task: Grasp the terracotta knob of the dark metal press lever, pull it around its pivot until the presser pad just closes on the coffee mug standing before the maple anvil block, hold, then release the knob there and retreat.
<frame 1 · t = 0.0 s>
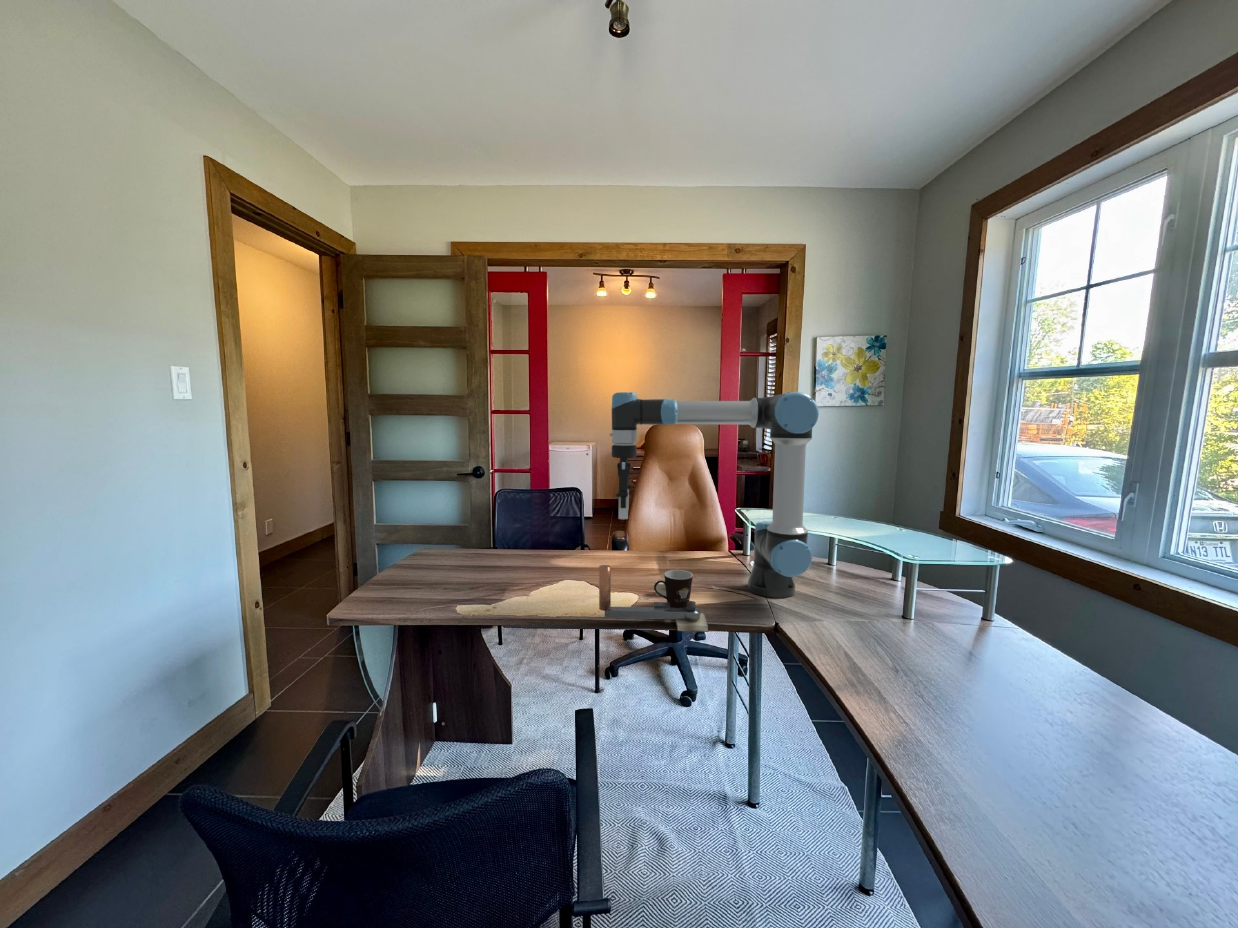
hand: (623, 514, 142), 28 cm above the table, fingers open, 13 cm apart
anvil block: (670, 594, 152), on the table
lever: (649, 591, 130), point 9 cm above the table, hinge at 0.0°
pivot pedestal: (691, 624, 130), on the table
coffee mug: (673, 606, 142), on the table
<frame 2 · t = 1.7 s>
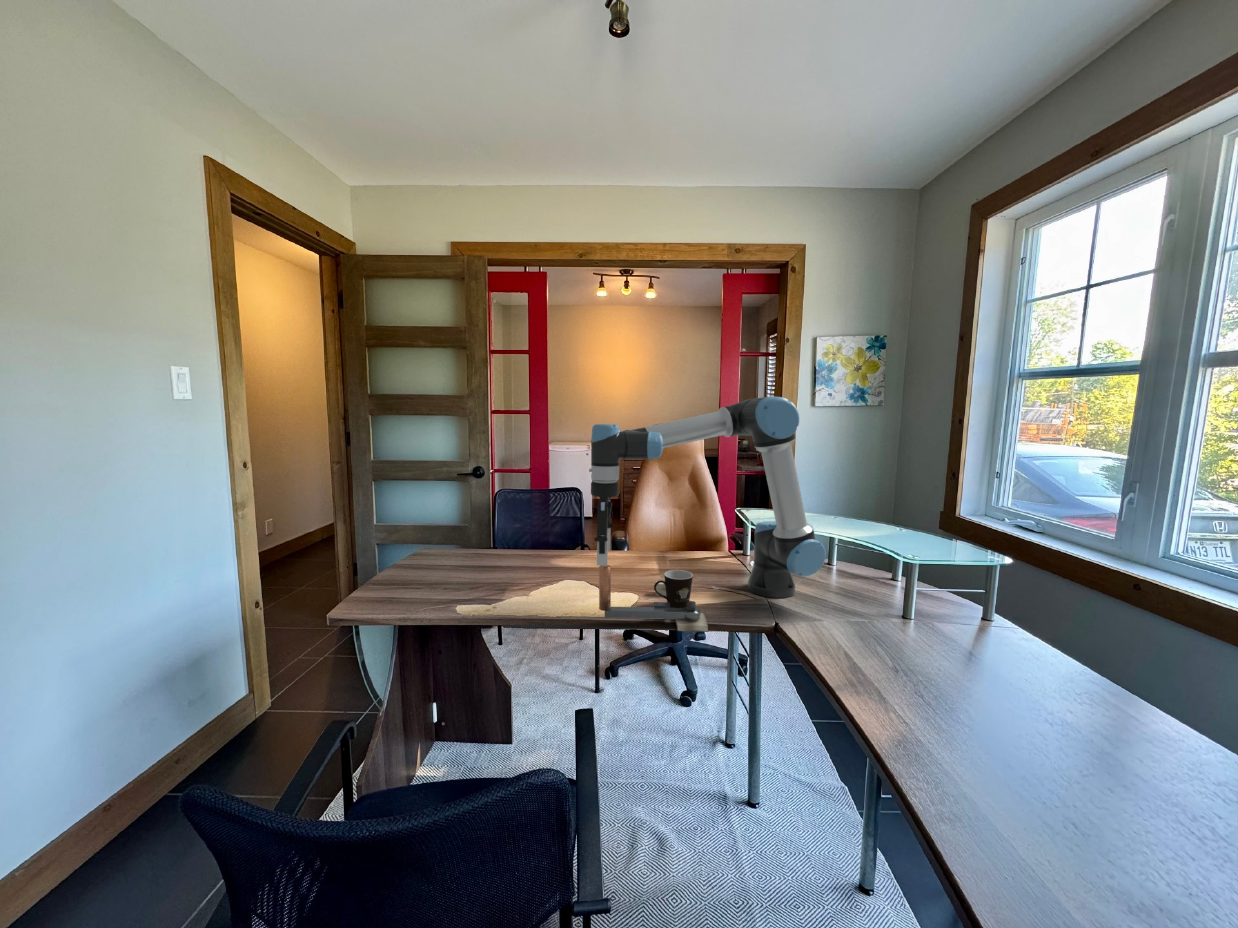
hand: (603, 557, 128), 19 cm above the table, fingers open, 13 cm apart
nothing on the table moved.
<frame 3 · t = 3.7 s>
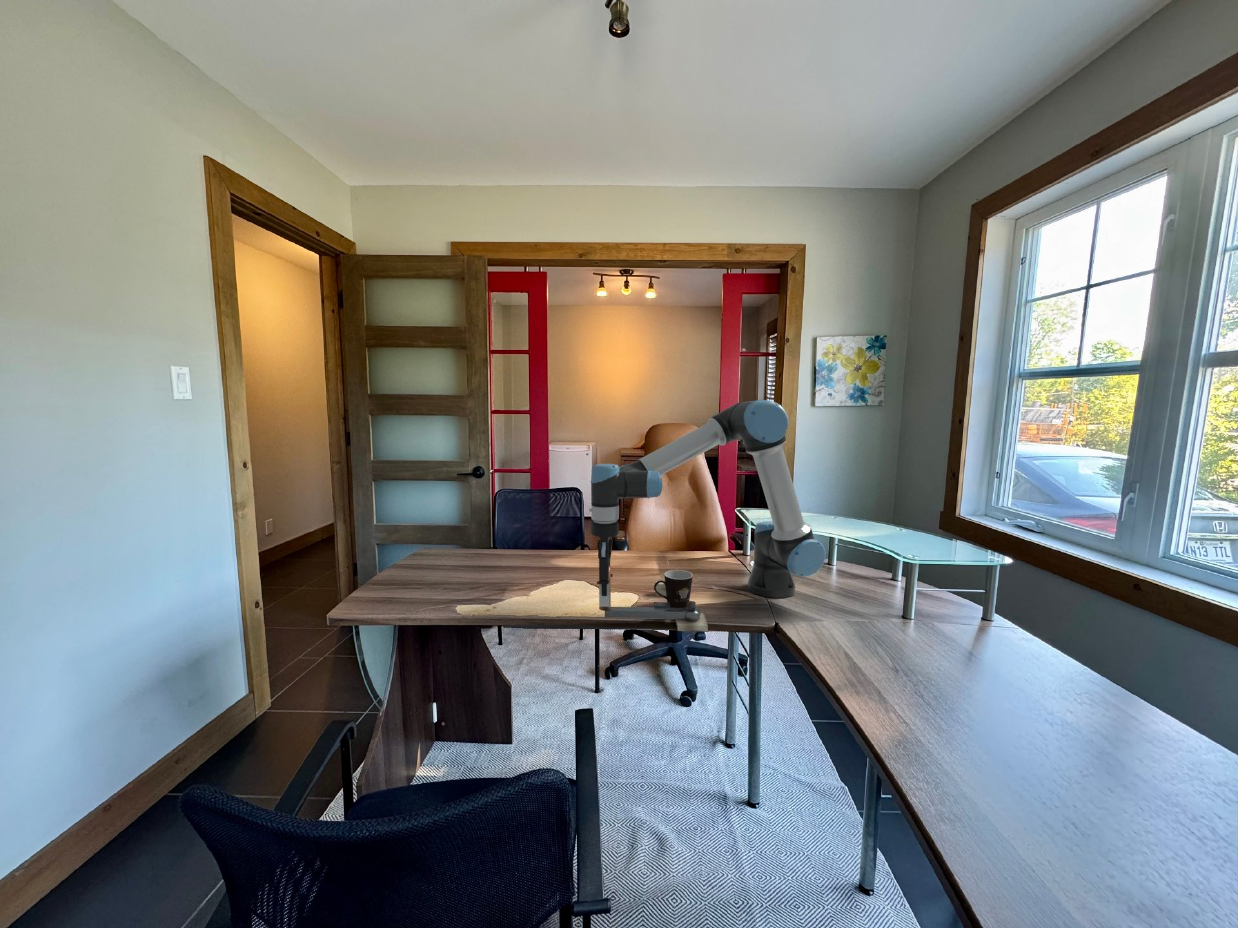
hand: (604, 603, 130), 6 cm above the table, fingers closed on lever, 3 cm apart
lever: (649, 591, 130), point 9 cm above the table, hinge at 0.0°, touching gripper
everything else where it was.
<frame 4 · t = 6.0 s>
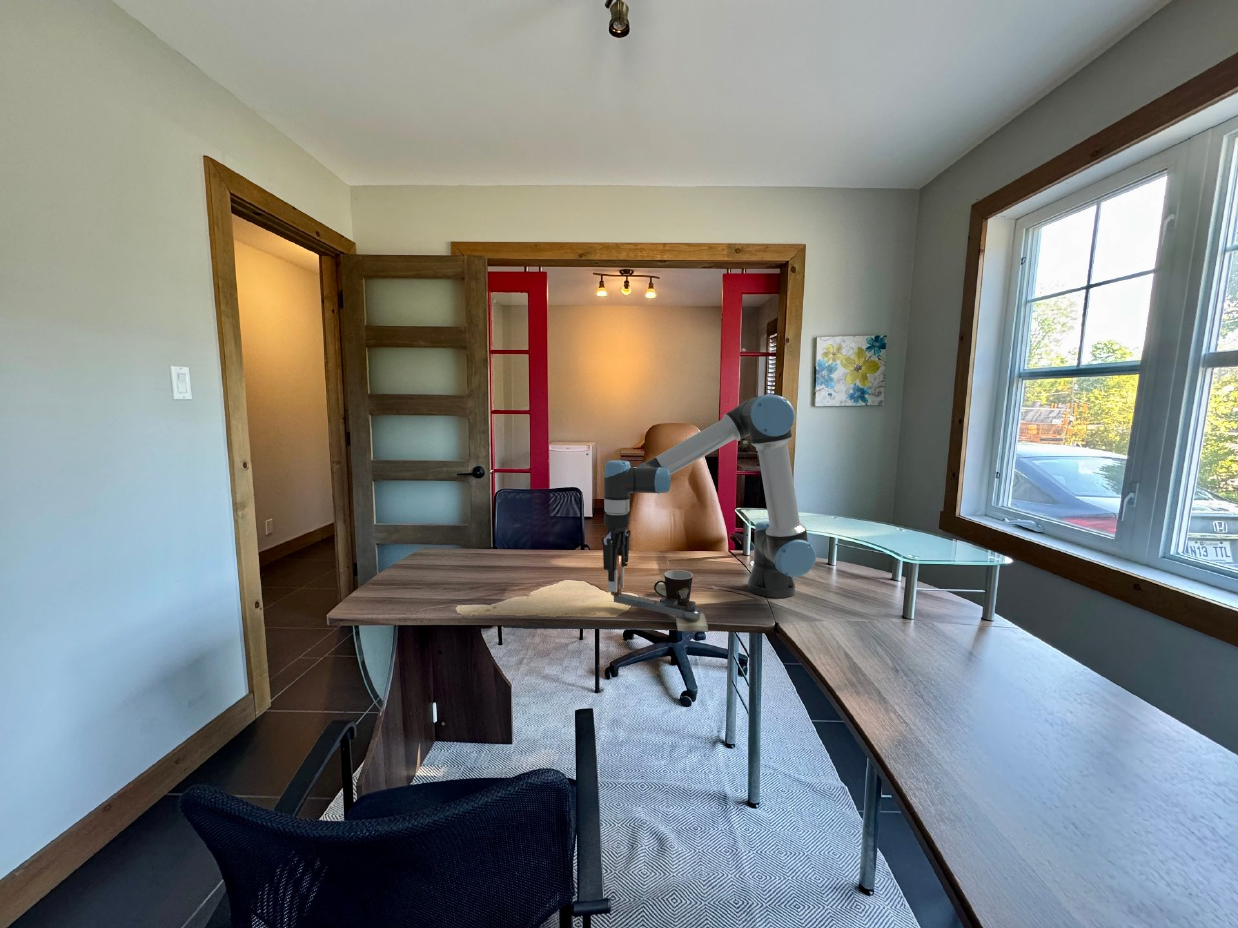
hand: (616, 588, 141), 6 cm above the table, fingers closed on lever, 3 cm apart
lever: (654, 585, 135), point 9 cm above the table, hinge at 27.2°, touching gripper
everything else where it was.
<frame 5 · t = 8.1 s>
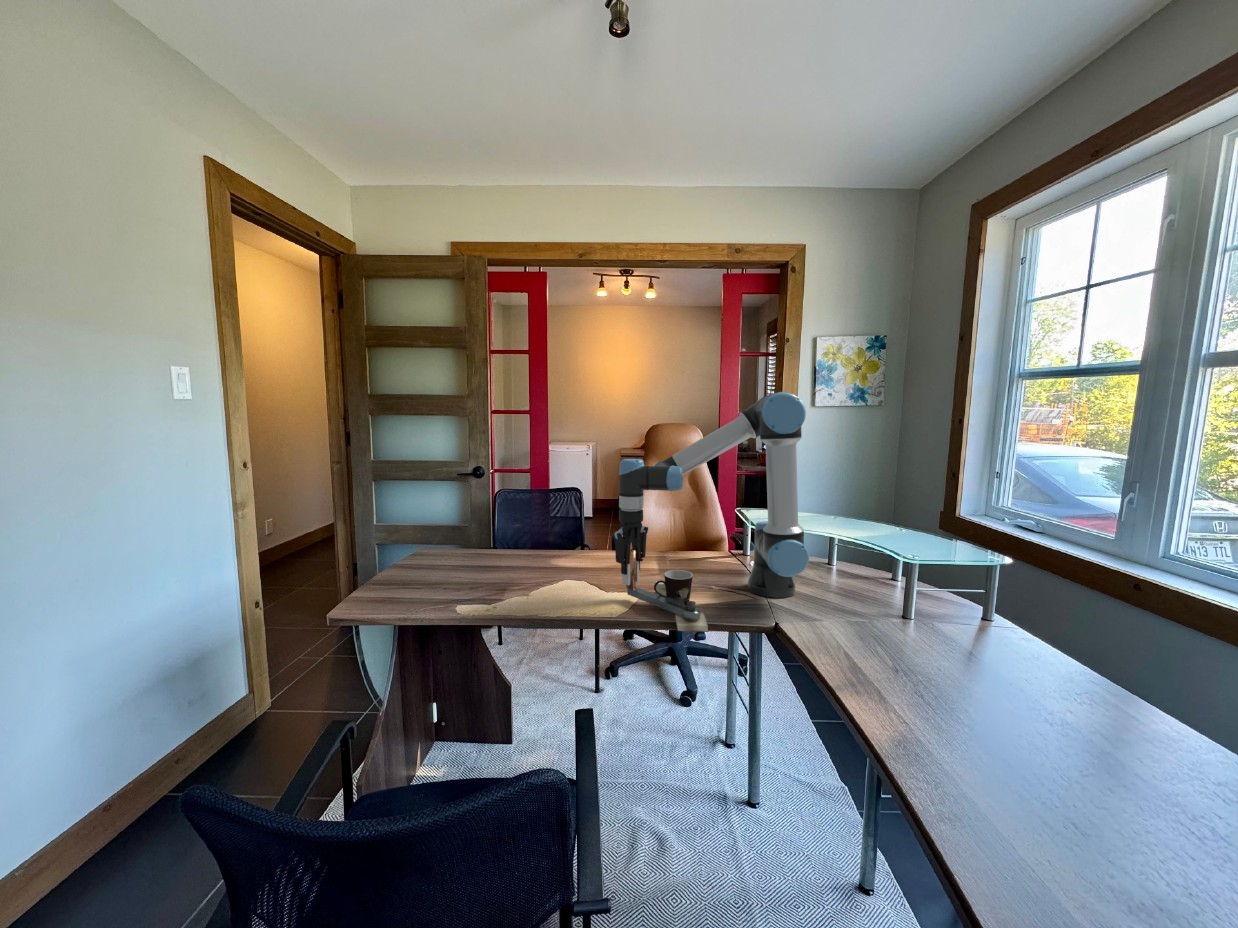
hand: (630, 582, 146), 6 cm above the table, fingers closed on lever, 3 cm apart
lever: (662, 581, 138), point 9 cm above the table, hinge at 44.8°, touching gripper
everything else where it was.
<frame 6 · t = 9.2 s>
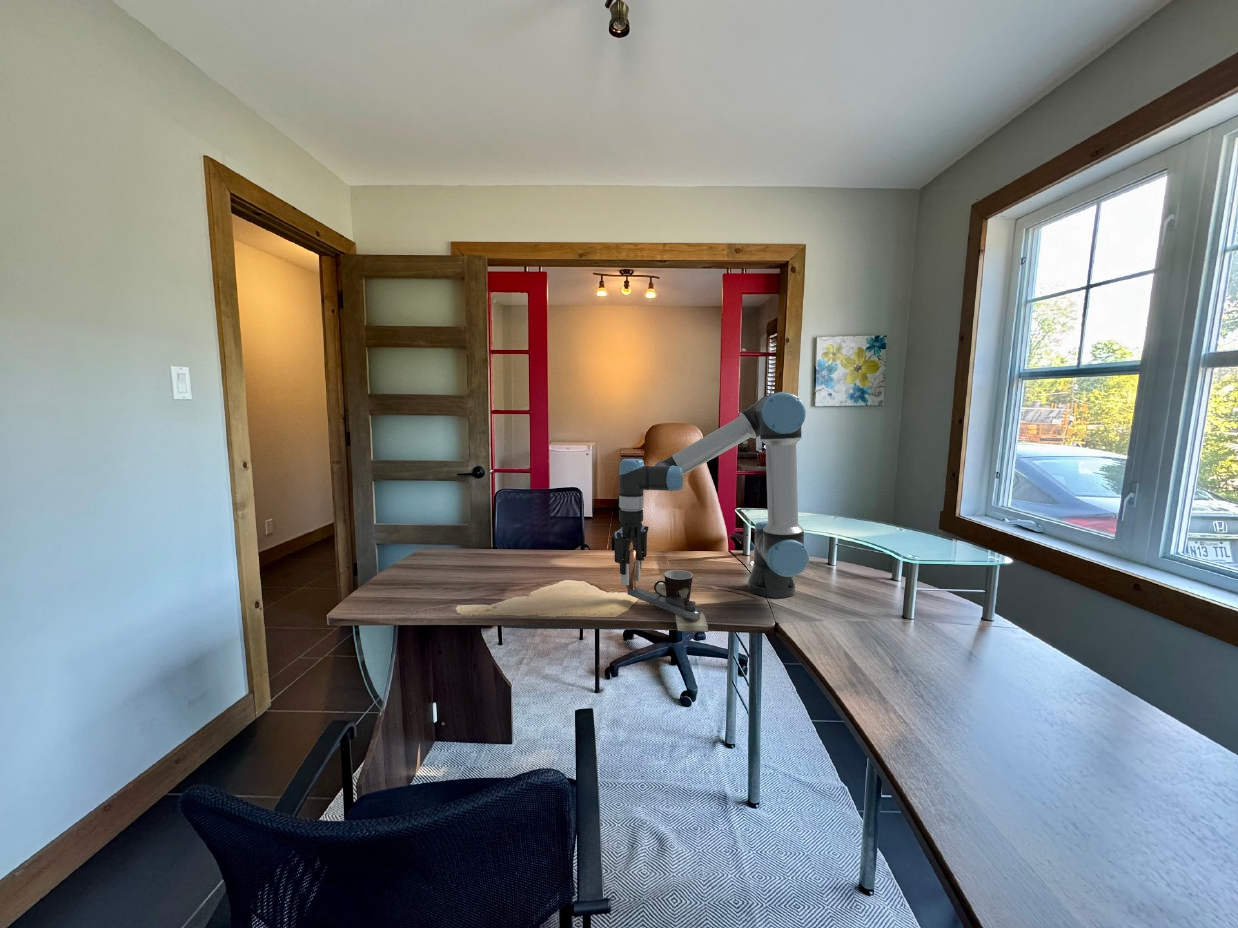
hand: (630, 581, 146), 6 cm above the table, fingers open, 4 cm apart
lever: (662, 581, 138), point 9 cm above the table, hinge at 44.9°
everything else where it was.
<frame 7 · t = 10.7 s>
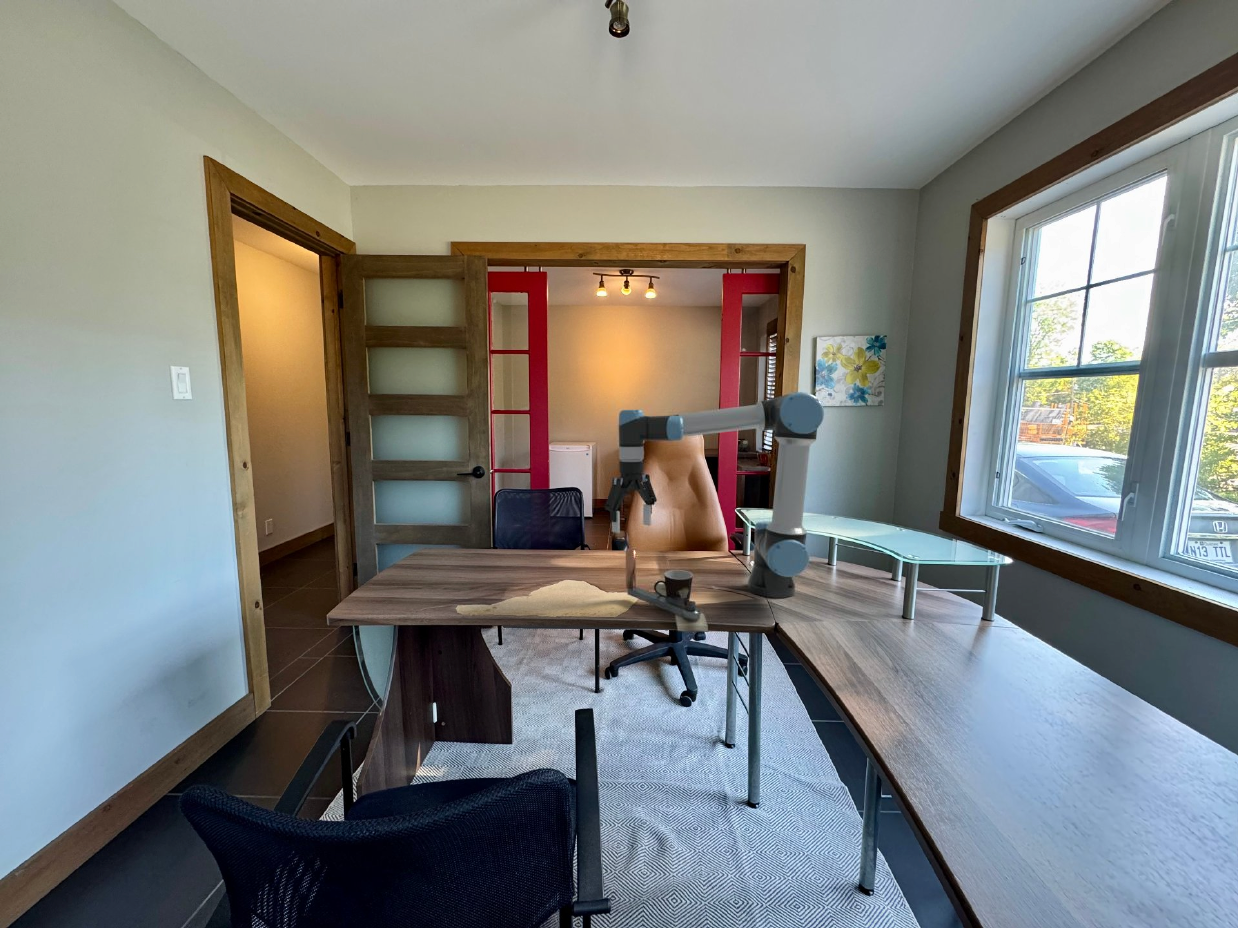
hand: (632, 528, 145), 23 cm above the table, fingers open, 13 cm apart
nothing on the table moved.
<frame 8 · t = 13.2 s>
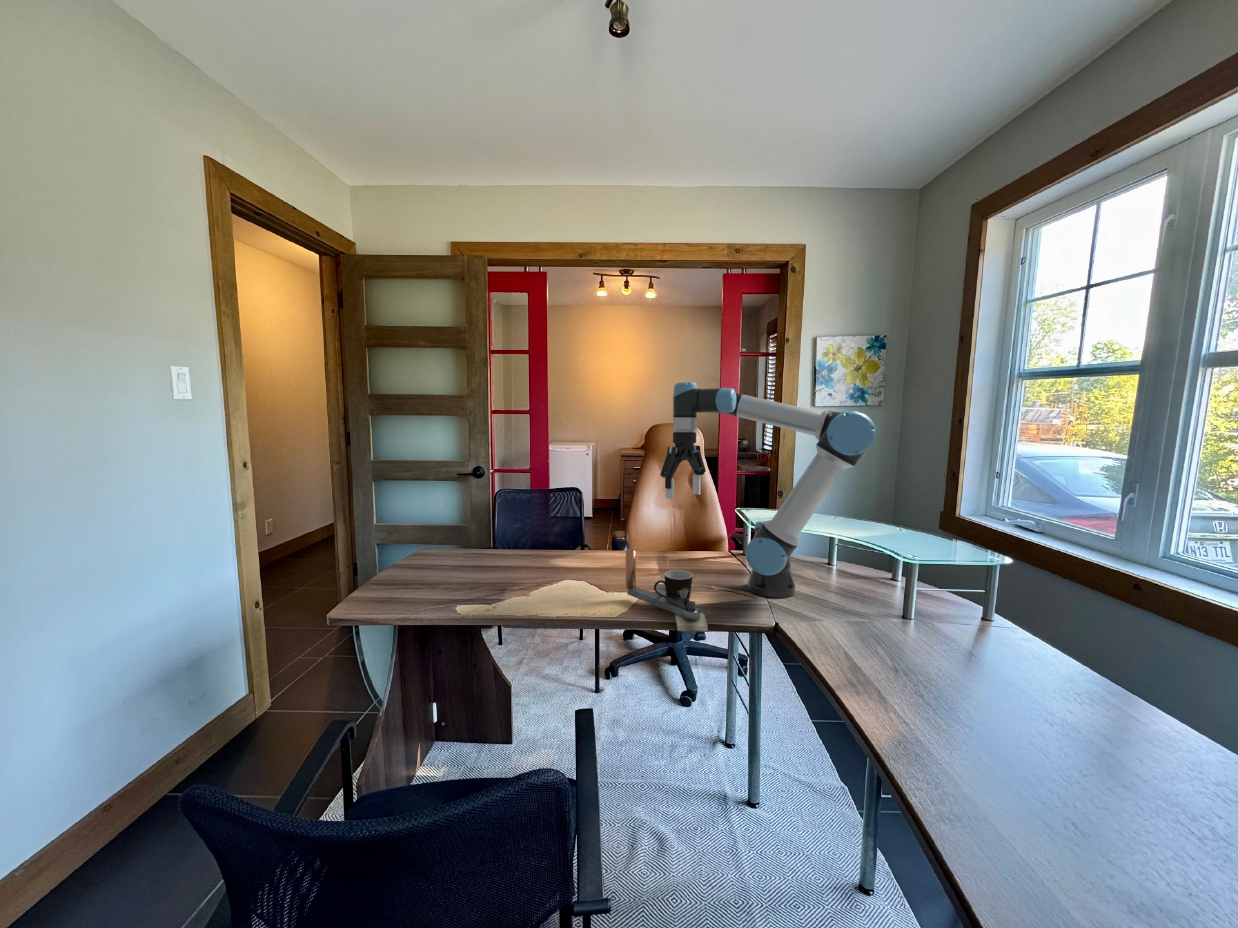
hand: (683, 496, 152), 32 cm above the table, fingers open, 13 cm apart
nothing on the table moved.
at the end: lever at +45° (first picture: +0°); coffee mug moved 0.2 cm from its start; coffee mug tilted 0° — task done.
